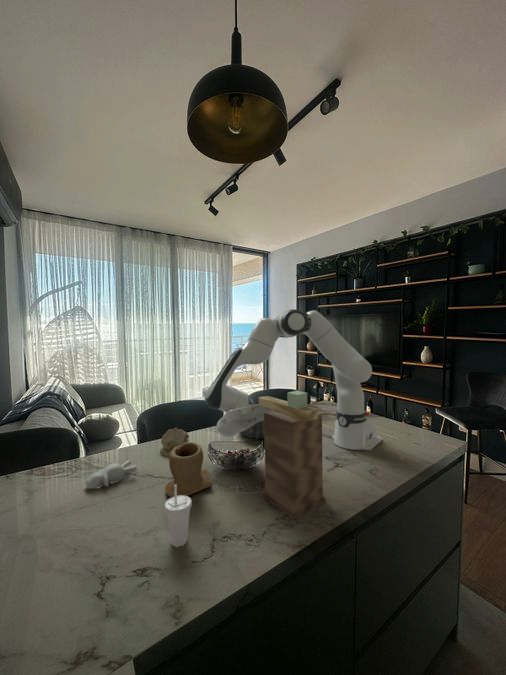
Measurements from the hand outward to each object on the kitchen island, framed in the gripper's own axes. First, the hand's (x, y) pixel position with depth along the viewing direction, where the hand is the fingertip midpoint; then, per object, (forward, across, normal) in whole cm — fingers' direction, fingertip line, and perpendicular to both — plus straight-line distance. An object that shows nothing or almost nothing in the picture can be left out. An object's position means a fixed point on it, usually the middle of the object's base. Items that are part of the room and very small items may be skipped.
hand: (263, 405), depth 98 cm
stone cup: (-22, -22, +17) cm, 35 cm away
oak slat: (+10, 0, +5) cm, 11 cm away
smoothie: (-5, -34, +27) cm, 44 cm away
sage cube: (+15, 0, +6) cm, 16 cm away
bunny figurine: (-41, -41, +6) cm, 58 cm away
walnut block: (-1, 0, +29) cm, 29 cm away
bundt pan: (-44, +27, +4) cm, 52 cm away
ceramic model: (-49, -14, +1) cm, 51 cm away
